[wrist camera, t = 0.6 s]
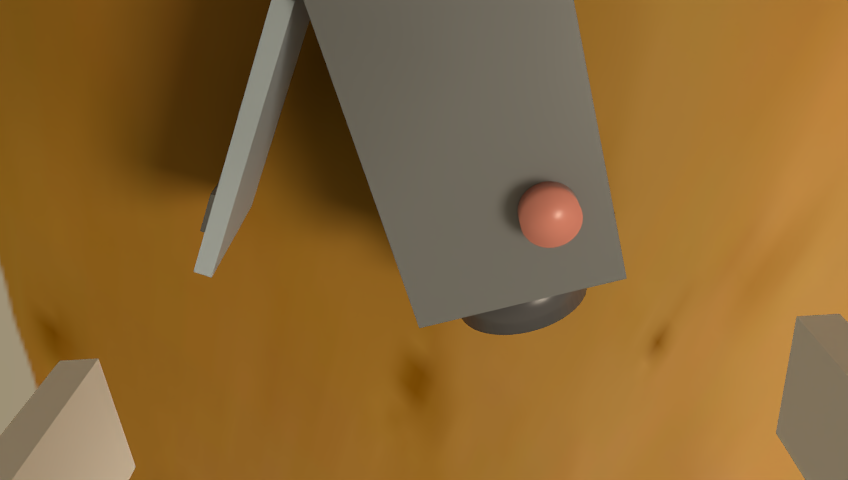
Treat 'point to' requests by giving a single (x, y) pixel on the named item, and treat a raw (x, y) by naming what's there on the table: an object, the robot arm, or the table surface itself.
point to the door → (253, 129)
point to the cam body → (477, 153)
